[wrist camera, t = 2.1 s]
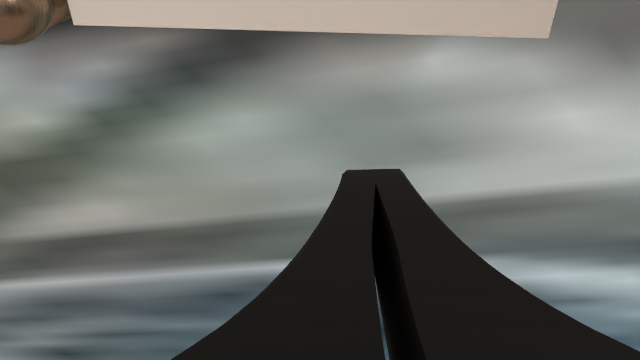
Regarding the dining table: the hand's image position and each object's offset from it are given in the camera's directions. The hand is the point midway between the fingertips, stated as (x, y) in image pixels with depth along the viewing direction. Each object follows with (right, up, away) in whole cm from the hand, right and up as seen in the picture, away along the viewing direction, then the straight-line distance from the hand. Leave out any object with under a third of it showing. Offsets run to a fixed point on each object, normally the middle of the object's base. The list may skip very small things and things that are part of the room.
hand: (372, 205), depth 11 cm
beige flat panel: (-1, +7, +4) cm, 8 cm away
